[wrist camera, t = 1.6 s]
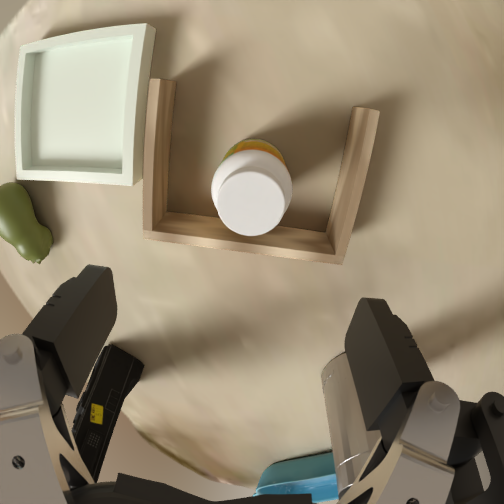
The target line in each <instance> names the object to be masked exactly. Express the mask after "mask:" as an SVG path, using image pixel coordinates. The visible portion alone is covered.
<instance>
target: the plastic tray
mask: <svg viewBox="0 0 504 504" xmlns="http://www.w3.org/2000/svg"><path fill="white" fill-rule="evenodd" d="M155 34H156V28H154V27H152V26H151V25H149V24H147V23H142V24H130V25H120V26H112V27H104V28H97V29H91V30H85V31H79V32H74V33H69V34H64V35H60V36H55V37H51V38H47V39H43V40H39V41H36V42H32V43H29V44H25V45H22V46H20V52H19V60H18V68H17V79H16V93H15V160H16V174H17V180H45V181H66V182H84V183H99V184H113V185H125V186H133V185H135V184H136V183H137V182H139V181H140V180H141V179H143V152H144V134H145V119H146V107H147V96H148V86H149V78H150V69H151V61H152V54H153V47H154V41H155Z"/></svg>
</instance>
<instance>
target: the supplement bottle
mask: <svg viewBox="0 0 504 504" xmlns="http://www.w3.org/2000/svg"><path fill="white" fill-rule="evenodd" d="M211 194H212V199H213V202H214V205H215V207H216V209H217V211H218V214H219V216H220V218H221V220H222V221H223V223H224V224H225V225H226V226H227V227H228V228H229V229H231V230H232V231H234V232H236V233H238V234H241V235H246V236H256V235H261V234H264V233H266V232H269V231H270V230H272V229H273V228H274V227H275V226H276V225H277V224H278V223H279V222H280V220H281V219H282V217H283V214H284V213H285V211H286V210H287V208H288V206H289V204H290V202H291V198H292V181H291V177H290V174H289V171H288V169H287V167H286V164H285V161H284V159H283V157H282V155H281V153H280V152H279V150H278V149H277V148H276V147H275V146H273V145H272V144H271V143H269V142H267V141H264V140H261V139H247V140H243V141H241V142H239V143H237V144H235V145H234V146H233V147H232V148H231V149H230V150H229V151H228V152H227V154H226V155H225V157H224V159H223V160H222V162H221V164H220V165H219V167H218V169H217V170H216V172H215V174H214V177H213V180H212V186H211Z"/></svg>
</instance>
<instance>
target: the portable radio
mask: <svg viewBox="0 0 504 504" xmlns="http://www.w3.org/2000/svg"><path fill="white" fill-rule="evenodd" d="M143 368H144V365H143V364H142V363H141V362H140V361H139V360H137V359H136V358H134V357H133V356H131V355H129V354H127V353H125V352H124V351H122V350H120V349H119V348H117V347H115V346H113V345H109V346H105V347H104V348H103V350H102V352H101V354H100V356H99V357H98V360H97V362H96V364H95V366H94V369H93V371H92V374H91V377H90V380H89V382H88V385H87V388H86V390H85V392H83V395H82V397H81V399H80V401H79V403H78V405H77V408H76V411H77V413H76V415H75V418H74V421H73V423H74V425H73V428H72V430H71V432H72V435H73V437H74V440H75V443H76V446H77V449H78V451H79V454H80V456H81V458H82V460H83V462H84V464H85V466H86V467H87V469H88V471H89V473H90V475H91V477H92V479H93V481H94V483H97V481H98V477H99V474H100V471H101V467H102V464H103V461H104V458H105V455H106V451H107V448H108V445H109V442H110V439H111V436H112V433H113V430H114V427H115V424H116V421H117V419H118V415H119V413H120V410H121V407H122V404H123V402H124V399H125V398H126V396H127V395H128V394H129V393H130V391H131V390H132V389H133V388H134V386H135V385H136V384H137V382H138V381H139V379H140V376H141V373H142V371H143Z"/></svg>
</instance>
